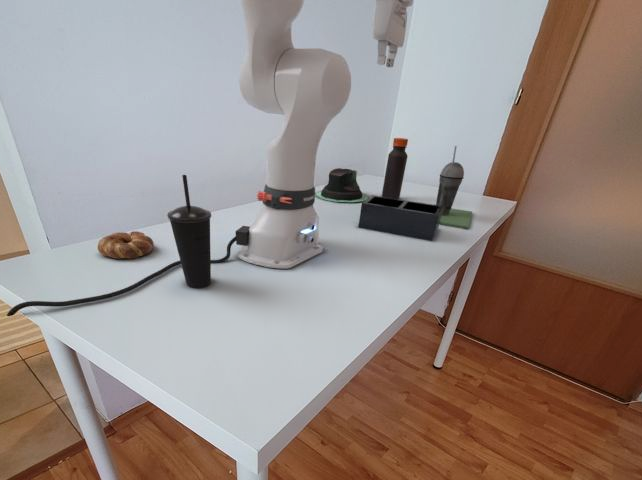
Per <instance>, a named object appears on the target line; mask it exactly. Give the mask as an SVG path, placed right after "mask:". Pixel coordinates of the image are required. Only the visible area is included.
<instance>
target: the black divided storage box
mask: <svg viewBox="0 0 642 480" xmlns="http://www.w3.org/2000/svg"><path fill="white" fill-rule="evenodd" d="M360 206H361V207H360V214H359V219H358V226H357V227H358V229H363V230H369V231H375V232H380V233H386V234H391V235H396V236H402V237H407V238H413V239H418V240H424V241H428V242H433V240H434V238H435V236H436V234H437V233H438V230H439V227H440V224H439V223H440V219H441V216H442V212H443V208H444V206H440V205H436V204H432V203H427V202H420V201H413V200H406V199H400V198H399V199H394V198H387V197H382V195H381V196H380V195H371V196H368V199H366V200H364V201H362V202H361V205H360Z"/></svg>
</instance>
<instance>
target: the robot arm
mask: <svg viewBox="0 0 642 480" xmlns="http://www.w3.org/2000/svg"><path fill="white" fill-rule="evenodd" d="M239 2H240V7H241V9H242V13H243V18H244V24H245V33H246V35H245V36H246V47H245V48H246V50H245V56H244V58H243V60H242V62H241V65H240V67H239V73H238V83H239V89H240V92H241V95H242V97H243V99H244V100H245V102H246V103H247V104H248V105H249V106H250V107H251V108H254V109H257V110H258V111H261V112H264V113H266V114H274V115H281V116H284V118H283V123H282V128H281V130H280V132H279V134H278V136H277V137H275V138H274V139H272V140H271V141H270V142H269V144H268V145H267V147H266V151H265V162H266V163H265V164H266V166H265V169H266V170H265V172H266V175H265V176H266V177H265V178H266V184H265V185H264V189H263V191H262V190H259V191H258V192H257V193H256V199H257V201H258V202H262V205H261V207H260V209H259V211H258V212H257V214H256V216H255V218H254V219H253V222H252V223H251V224H250V225H249V226H248V225H242V226H240V227H239V228H237V229H236V230H235V236H234V237H232V238H231V240H230V241H229V242H228V244H227V245H226V254H225V256H224V257H222V258H219V259H211V264H221V263H224V262H226V261H228V260H229V259H230V258H231V253H232V252H231V249H232V246H233V244H234V243H235V244H236V245H237V246H243V247H242V248H241V249H240V250H238V252H237V258H238V259H240V260H241V261H244V262H246V263H249V264H252V265H256V266H261V267H265V268H271V269H272V268H273V269H281V270H282V269H291V268H294V267H295V266H297V265H299V264H301V263H303V262H305V261H307V260H309V259H311V258H313V257H315V256H318V255H319V254H321V253H323V252H324V247H323V245H321V244H320V243H319V237H320V236H319V227H320V226H319V222H320V221H319V219H320V218H319V215H318V213H317V211H316V209H315V207H314V204H315V201H316V200H315V199H316V187H315V186H314V184H315V171H316V162H317V154H318V149H319V145H320V142H321V139H322V137H323V135H324V132H325V131H326V129H327V128H328V126H329V124H330V123H331V122H332V120H333V119H334V118H336V117H337V116H338V115H339V114H340V113H341V112H342V111H343V109H344V108H345V106H346V105H347V103H348V101H349V98H350V95H351V91H352V75H351V70H350V67H349V64H348V62H347V60H346V58H345V57H344V56H343V55H342V54H339V53H336V52H333V51H330V50H326V49H323V48H296V47H294V45H293V39H292V26H293V23H294V22H295V21H296V20H297V18H298V16H299V15H300V14H301V11H302V9H303V6H304V2H305V0H239ZM413 3H414V0H375V2H374V6H373V7H374V8H373V19H372V38H373V39H374V40H376V41H377V59H376V60H377V61H376V64H377V65H378V66H379V65H380V66H384V65H385V66H386V67H387V68H393V67H394V66H395V59H396V57H397V54H398V48H399V49H401V48H403V46H404V43H405V38H406V31H407V22H408V11H407V9H408V8H409V7H411V6H413ZM387 47H388V54H387ZM386 54H387V56H386ZM180 265H181V261H180V260H176V261H174V262H172V263H170V264H168V265H166V266H164V267H163V268H161V269H159V270H158V271H155V272H154V273H151V274H150V275H148V276H146V277H144V278H142V279H141V280H139V281H137V282H135V283H133V284H131V285H129V286H126V287H123V288H121V289H118V290H116V291H113V292H108V293H105V294H100V295H95V296H90V297H84V298H77V299H70V300H65V301H47V300H46V301H45V300H30V301H24V302H20V303H18V304H16V305H15V306H13V307H12V308H10V309H9V311H8V312H7V314H6V317H12V316H14V315H15V314H16V313H17V312H19V311H21V310H22V309H25V308H29V307H56V308H57V307H59V308H60V307H69V306H75V305H76V306H77V305H81V304H87V303H88V304H89V303H93V302H98V301H103V300H104V301H105V300H108V299H111V298H114V297H118V296H121V295H124V294H127V293H129V292H131V291H133V290H135V289H137V288H139V287H141V286H142V285H144V284H147V282H149V281H151V280H153V279H155V278H157V277H158V276H161V275H163V274H164V273H166V272H167V271H169V270H171V269H173V268H175V267H177V266H180Z"/></svg>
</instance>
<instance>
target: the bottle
mask: <svg viewBox="0 0 642 480" xmlns="http://www.w3.org/2000/svg"><path fill="white" fill-rule="evenodd" d="M408 141H409V139H408V138H404V137H394V138H393V142H392V150H391V151H390V152H389V153H388V155H387V160H386V161H387V162H386V168H385V173H384V179H383V185H382V191H381V197H387V198H394V199H400V197H401V194H402V193H401V192H402V188H403V183H404V182H403V181H404V177H405V171H406V168H407V167H406V166H407V162H408V153H407V152H406V149H407V147H408Z"/></svg>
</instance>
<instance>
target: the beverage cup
mask: <svg viewBox="0 0 642 480" xmlns="http://www.w3.org/2000/svg"><path fill="white" fill-rule="evenodd" d="M456 152H457V145H455V146H454V150H453V157H452V161H451V162H449V163H447V164H445V166H444V167H443V168H442V170H441V171H440V174H439V184H438V190H437V196H436V202H435V205H440V206H444V208H443V212H442V216H447V215H449V212H450V210H451V208H452V207H453V204H454V202H455V199H456V196H457V193H458V191H459V188H460V186H461V184H462V182H463V180H464V176H465V170H464V167H463V166H462V164H461V163H460V162H455V159H456Z"/></svg>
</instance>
